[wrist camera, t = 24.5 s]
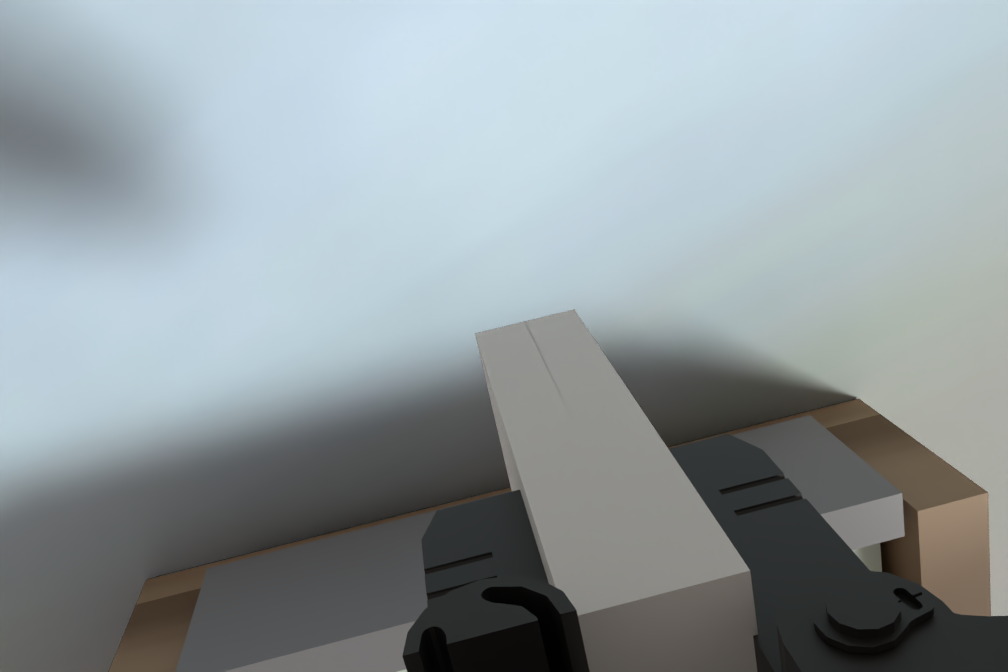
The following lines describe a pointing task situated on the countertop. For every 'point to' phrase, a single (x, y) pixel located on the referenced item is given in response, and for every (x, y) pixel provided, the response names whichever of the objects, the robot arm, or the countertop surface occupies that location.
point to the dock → (885, 447)
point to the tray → (401, 577)
